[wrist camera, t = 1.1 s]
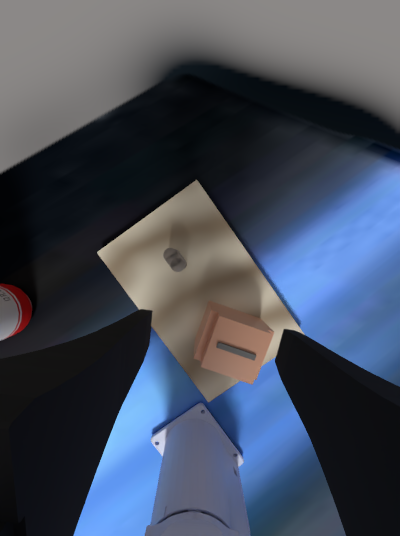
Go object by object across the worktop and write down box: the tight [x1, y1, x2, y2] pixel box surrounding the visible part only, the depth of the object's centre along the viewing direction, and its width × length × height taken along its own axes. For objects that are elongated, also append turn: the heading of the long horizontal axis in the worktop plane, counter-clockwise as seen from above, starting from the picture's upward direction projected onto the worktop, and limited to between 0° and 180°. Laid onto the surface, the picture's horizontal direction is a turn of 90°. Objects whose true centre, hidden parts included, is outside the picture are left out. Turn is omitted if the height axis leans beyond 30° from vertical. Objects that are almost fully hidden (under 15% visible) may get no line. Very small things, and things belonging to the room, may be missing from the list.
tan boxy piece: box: [194, 301, 274, 384], centre depth 19 cm, size 6×5×5 cm
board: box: [97, 180, 304, 403], centre depth 21 cm, size 22×14×4 cm, turn 35°
